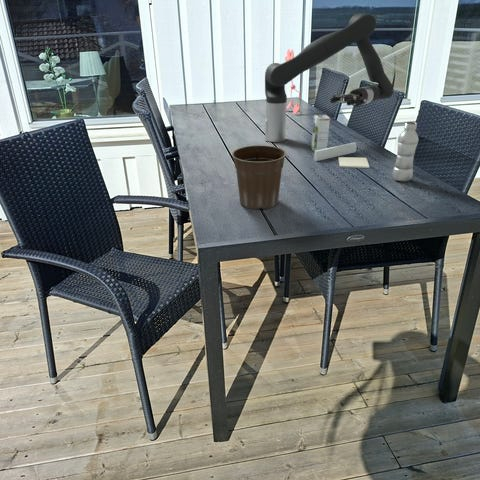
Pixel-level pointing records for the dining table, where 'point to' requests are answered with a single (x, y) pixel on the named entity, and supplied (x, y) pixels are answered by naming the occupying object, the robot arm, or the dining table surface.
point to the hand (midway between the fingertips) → (339, 101)
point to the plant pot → (259, 175)
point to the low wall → (335, 151)
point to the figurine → (296, 107)
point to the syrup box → (320, 132)
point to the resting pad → (353, 162)
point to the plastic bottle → (406, 152)
